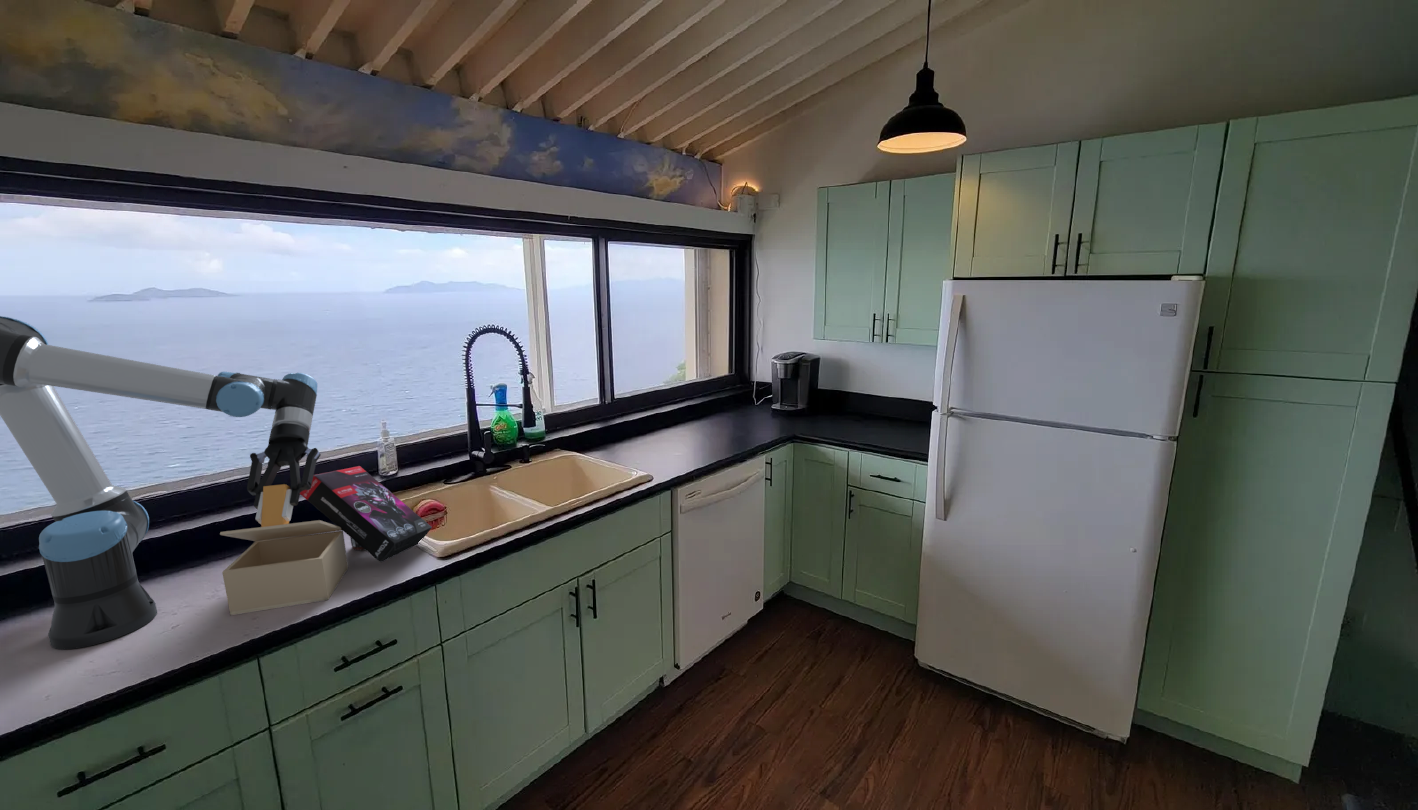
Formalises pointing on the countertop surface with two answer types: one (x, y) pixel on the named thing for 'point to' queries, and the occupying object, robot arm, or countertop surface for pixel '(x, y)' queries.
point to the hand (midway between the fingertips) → (273, 519)
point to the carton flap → (279, 520)
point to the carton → (286, 572)
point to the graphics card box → (366, 511)
